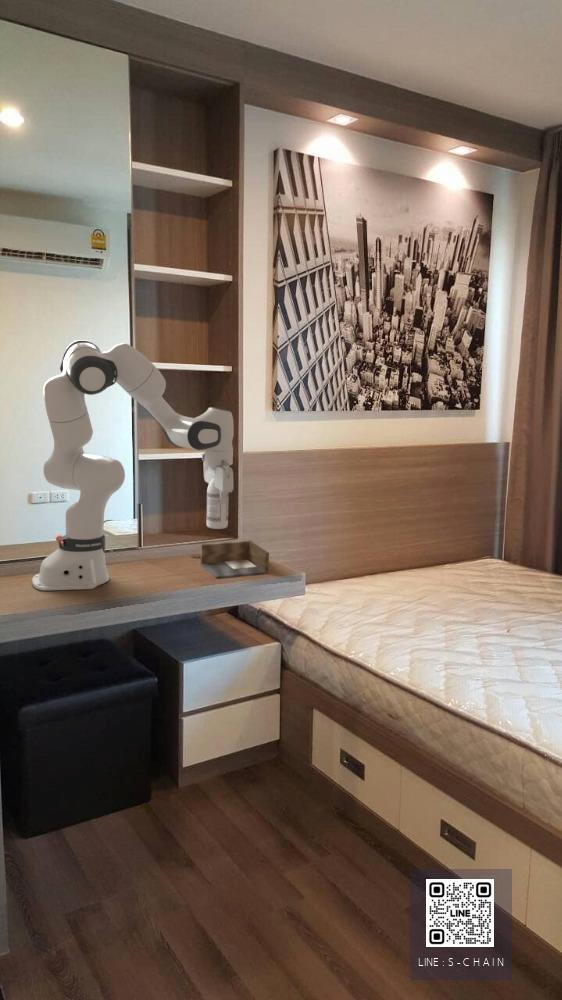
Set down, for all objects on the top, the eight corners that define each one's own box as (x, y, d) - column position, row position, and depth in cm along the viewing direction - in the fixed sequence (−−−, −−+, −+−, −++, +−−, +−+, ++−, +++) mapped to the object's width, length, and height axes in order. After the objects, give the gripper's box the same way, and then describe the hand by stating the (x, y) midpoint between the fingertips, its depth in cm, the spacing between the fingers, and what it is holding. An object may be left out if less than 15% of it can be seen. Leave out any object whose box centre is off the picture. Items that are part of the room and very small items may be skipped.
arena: (216, 578, 228) (216, 557, 227) (200, 564, 242) (200, 544, 241) (268, 573, 236) (269, 553, 234) (249, 560, 250) (250, 540, 248)
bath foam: (220, 523, 238) (221, 463, 234) (231, 527, 233) (233, 466, 229) (202, 525, 234) (203, 465, 230) (213, 530, 229) (215, 468, 225)
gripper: (239, 463, 221) (237, 507, 224) (218, 453, 239) (217, 494, 242) (219, 463, 218) (218, 508, 221) (200, 453, 237) (199, 495, 240)
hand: (217, 500), depth 232 cm, fingers closed on bath foam, 7 cm apart
